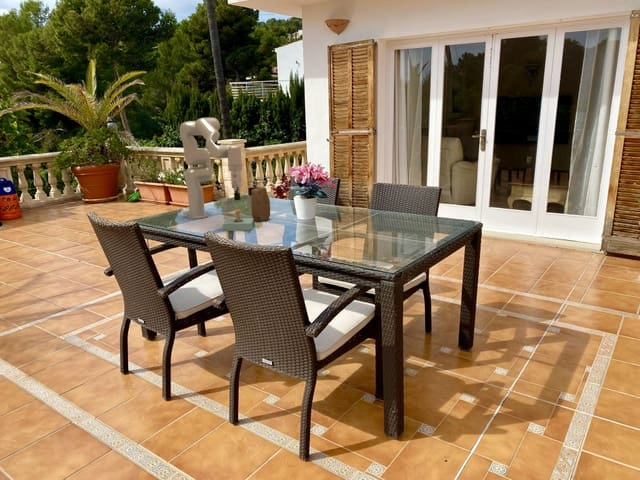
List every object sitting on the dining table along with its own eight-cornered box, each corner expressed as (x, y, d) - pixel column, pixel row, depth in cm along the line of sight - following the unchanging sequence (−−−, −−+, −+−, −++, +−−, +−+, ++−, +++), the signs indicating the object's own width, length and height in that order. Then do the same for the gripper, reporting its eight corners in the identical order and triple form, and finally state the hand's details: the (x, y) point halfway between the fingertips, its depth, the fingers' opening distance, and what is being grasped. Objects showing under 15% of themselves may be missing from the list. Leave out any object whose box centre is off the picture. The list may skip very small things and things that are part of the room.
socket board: (223, 231, 280) (222, 224, 279) (226, 225, 293) (226, 218, 292) (251, 230, 280) (251, 223, 279) (253, 224, 294) (253, 217, 293)
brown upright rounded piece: (258, 222, 298) (256, 189, 293) (250, 220, 303) (249, 188, 298) (272, 219, 306) (270, 187, 300) (264, 217, 311) (263, 186, 305)
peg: (235, 228, 285) (234, 211, 282) (236, 227, 288) (235, 210, 286) (241, 228, 285) (240, 211, 282) (242, 226, 289) (241, 210, 286)
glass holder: (252, 208, 340) (251, 186, 336) (271, 209, 335) (270, 187, 331) (246, 211, 332) (245, 188, 328) (265, 212, 327) (264, 189, 323)
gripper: (240, 169, 270) (242, 202, 275) (243, 166, 285) (245, 197, 290) (226, 169, 270) (229, 202, 275) (230, 166, 284) (232, 197, 289)
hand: (237, 199), depth 282 cm, fingers closed
